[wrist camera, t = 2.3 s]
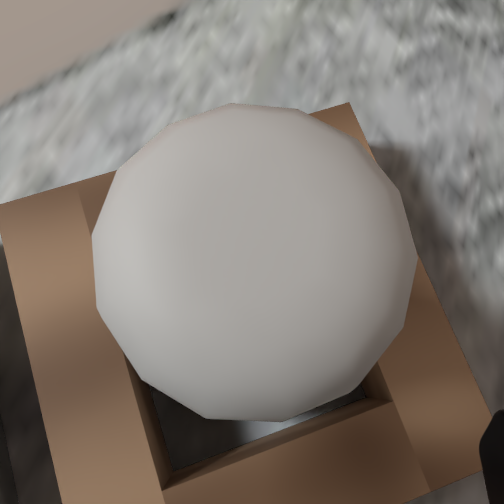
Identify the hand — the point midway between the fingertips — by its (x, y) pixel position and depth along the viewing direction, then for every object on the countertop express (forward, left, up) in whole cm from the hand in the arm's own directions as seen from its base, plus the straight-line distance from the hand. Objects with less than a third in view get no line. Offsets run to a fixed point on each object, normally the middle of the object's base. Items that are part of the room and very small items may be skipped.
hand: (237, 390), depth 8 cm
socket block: (+2, -1, -10) cm, 10 cm away
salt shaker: (+2, -1, -10) cm, 10 cm away
